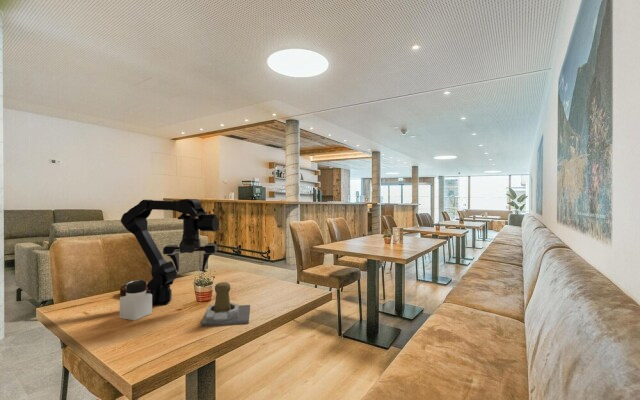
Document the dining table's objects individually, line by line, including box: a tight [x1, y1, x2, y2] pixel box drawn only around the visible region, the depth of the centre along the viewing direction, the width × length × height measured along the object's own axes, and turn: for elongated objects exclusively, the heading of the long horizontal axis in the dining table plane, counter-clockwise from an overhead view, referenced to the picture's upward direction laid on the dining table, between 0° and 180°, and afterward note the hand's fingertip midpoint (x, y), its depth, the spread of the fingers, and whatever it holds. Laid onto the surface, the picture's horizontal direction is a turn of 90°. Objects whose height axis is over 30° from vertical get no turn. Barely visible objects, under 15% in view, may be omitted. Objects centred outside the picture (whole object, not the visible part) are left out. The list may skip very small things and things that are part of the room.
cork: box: [214, 281, 231, 312], centre depth 105 cm, size 6×6×11 cm
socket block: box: [200, 301, 251, 327], centre depth 106 cm, size 15×15×4 cm
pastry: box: [119, 279, 151, 297], centre depth 131 cm, size 11×12×6 cm
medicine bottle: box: [119, 279, 153, 322], centre depth 106 cm, size 7×7×12 cm
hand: (190, 271), depth 118 cm, fingers open, 9 cm apart
